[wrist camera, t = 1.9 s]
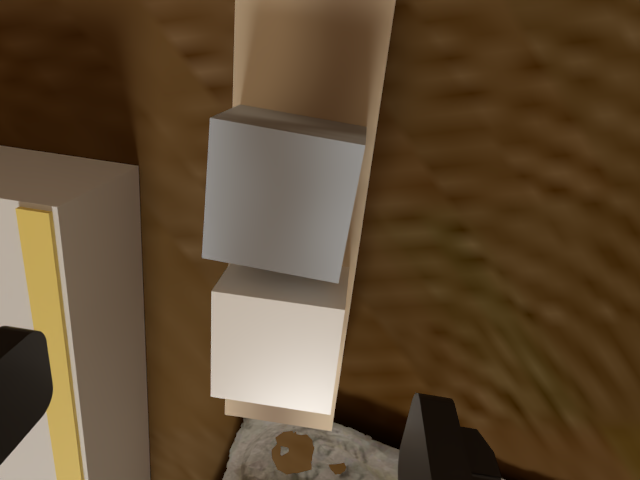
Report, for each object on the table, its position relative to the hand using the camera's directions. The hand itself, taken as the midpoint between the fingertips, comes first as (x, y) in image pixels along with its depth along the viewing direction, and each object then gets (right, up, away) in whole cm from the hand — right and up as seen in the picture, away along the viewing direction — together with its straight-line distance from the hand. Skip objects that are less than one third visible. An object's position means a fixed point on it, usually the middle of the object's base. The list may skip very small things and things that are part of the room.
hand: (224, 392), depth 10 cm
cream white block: (+1, +1, +9) cm, 9 cm away
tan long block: (+2, +5, +12) cm, 13 cm away
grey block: (+1, +6, +7) cm, 9 cm away
